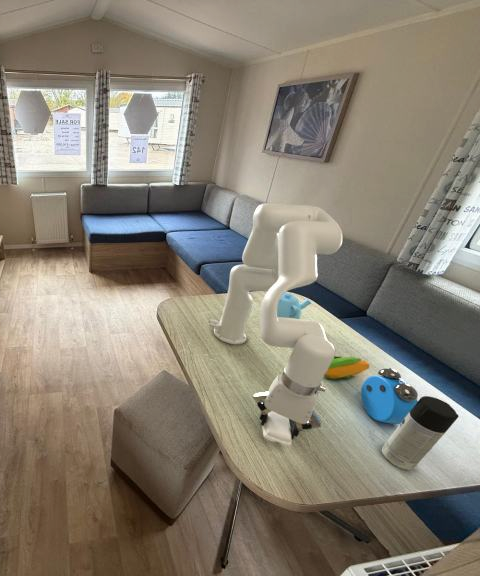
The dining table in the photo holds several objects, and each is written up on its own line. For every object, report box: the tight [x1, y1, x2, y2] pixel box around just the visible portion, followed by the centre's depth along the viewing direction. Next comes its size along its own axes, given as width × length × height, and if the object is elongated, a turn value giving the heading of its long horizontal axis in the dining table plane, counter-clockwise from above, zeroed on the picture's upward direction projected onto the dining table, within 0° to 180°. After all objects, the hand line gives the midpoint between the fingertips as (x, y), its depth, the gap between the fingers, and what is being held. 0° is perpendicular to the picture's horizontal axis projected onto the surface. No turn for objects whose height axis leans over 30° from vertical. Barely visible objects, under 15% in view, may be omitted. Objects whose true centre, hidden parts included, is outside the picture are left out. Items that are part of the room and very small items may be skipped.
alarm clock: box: [360, 367, 419, 426], centre depth 90 cm, size 13×6×15 cm, turn 171°
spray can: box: [381, 395, 459, 471], centre depth 77 cm, size 7×7×20 cm
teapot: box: [277, 292, 312, 319], centre depth 140 cm, size 15×17×11 cm
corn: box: [323, 356, 370, 380], centre depth 107 cm, size 7×8×20 cm
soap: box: [261, 411, 293, 448], centre depth 84 cm, size 9×7×3 cm
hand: (276, 428), depth 84 cm, fingers closed on soap, 6 cm apart
